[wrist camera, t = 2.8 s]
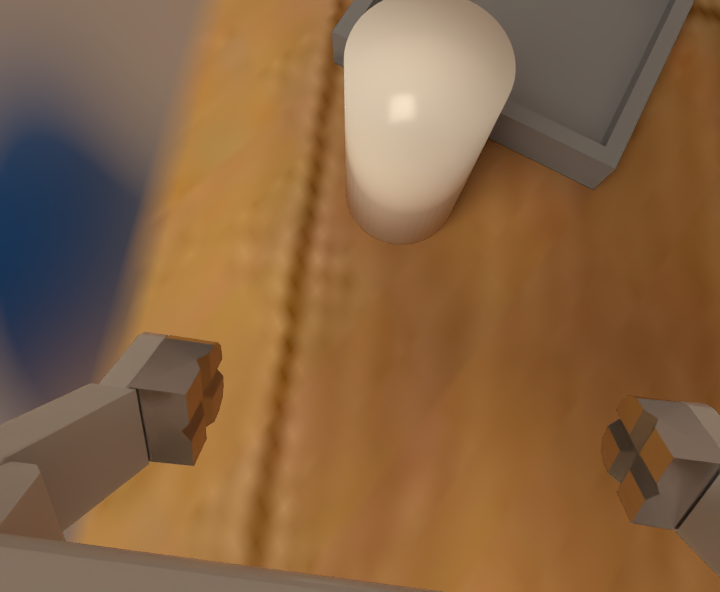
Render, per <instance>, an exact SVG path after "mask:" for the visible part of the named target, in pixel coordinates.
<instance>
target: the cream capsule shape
mask: <svg viewBox="0 0 720 592" xmlns="http://www.w3.org/2000/svg"><path fill="white" fill-rule="evenodd" d="M515 72H516V64H515V56H514V51H513V48H512V45H511V42H510V40H509V38H508V36H507V34H506V33H505V31H504V30H503V28H502V27H501V25H500V24H499V23H498V22H497V21H496V20H495V19H494V17H492V16H491V15H490V14H489V13H488V12H487V11H486V10H484V9H483V8H481V7H480V6H478V5H477V4H475V3H473V2H471V1H469V0H383V1H381V2H379V3H377V4H376V5H374V6H373V7H372V8H370V9H369V10H368V11H367V12H365V13H364V14H363V15H362V16H361V17H360V19H359V20H358V21H357V22H356V24H355V25H354V27H353V29H352V30H351V32H350V34H349V37H348V39H347V42H346V46H345V51H344V98H345V153H346V197H347V204H348V208H349V210H350V213H351V215H352V217H353V219H354V220H355V221H356V223H357V224H358V225H359V226H360V227H361V228H362V230H364V231H365V232H366V233H367V234H369V235H370V236H372V237H374V238H376V239H378V240H380V241H383V242H386V243H391V244H401V245H402V244H412V243H417V242H420V241H423V240H425V239H427V238H429V237H430V236H432V235H433V234H435V233H436V232H437V231H438V230H439V229H440V228H441V227H442V226H443V225H444V224H445V222H446V221H447V219H448V217H449V215H450V213H451V211H452V209H453V207H454V205H455V203H456V201H457V199H458V197H459V195H460V193H461V191H462V189H463V187H464V185H465V183H466V181H467V179H468V177H469V175H470V173H471V171H472V169H473V167H474V165H475V163H476V161H477V159H478V157H479V155H480V153H481V151H482V149H483V147H484V145H485V143H486V141H487V139H488V137H489V135H490V133H491V131H492V129H493V127H494V125H495V123H496V121H497V119H498V117H499V115H500V113H501V111H502V109H503V107H504V105H505V103H506V101H507V99H508V97H509V94H510V92H511V90H512V87H513V84H514V80H515Z"/></svg>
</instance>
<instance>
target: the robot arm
mask: <svg viewBox="0 0 720 592" xmlns="http://www.w3.org/2000/svg"><path fill="white" fill-rule="evenodd" d="M221 360H222V351H221V345H220V344H219V343H218V342H212V341H205V340H198V339H192V338H185V337H179V336H172V335H170V336H168V335H163V334H156V333H149V332H144V333H142V334H140V335H138V337H137V338H136V339H135V340H134V341H133V343H132V344H131V345H130V346H129V347H128V349H127V350H126V351H125V352H124V354H123V355H122V356H121V357H120V358H119V360H118V361H117V362H116V363H115V365H114V366H113V367H112V368H111V369H110V371H109V372H108V373H107V374H106V375H105V377H104V378H103V379H102V380H101V382H100V383H99V384H91V383H90V384H88V385H86V386H84V387H82V388H79V389H77V390H75V391H73V392H71V393H68V394H66V395H64V396H62V397H60V398H58V399H55V400H53V401H51V402H49V403H47V404H45V405H42V406H40V407H38V408H36V409H34V410H32V411H29V412H27V413H25V414H23V415H21V416H19V417H16V418H14V419H12V420H10V421H8V422H5V423H3V424H1V425H0V592H442V591H434V590H427V589H419V588H412V587H404V586H397V585H389V584H382V583H374V582H367V581H359V580H352V579H344V578H337V577H329V576H322V575H314V574H307V573H299V572H291V571H284V570H276V569H269V568H261V567H254V566H246V565H239V564H231V563H224V562H216V561H208V560H201V559H193V558H186V557H178V556H171V555H163V554H156V553H148V552H141V551H133V550H125V549H118V548H110V547H103V546H95V545H88V544H80V543H73V542H66V540H65V538H64V535H63V531H64V530H65V529H67V528H68V527H69V526H70V525H72V524H73V523H74V522H76V521H77V520H78V519H79V518H81V517H82V516H83V515H85V514H86V513H87V512H88V511H90V510H91V509H92V508H94V507H95V506H96V505H97V504H99V503H100V502H101V501H102V500H104V499H105V498H106V497H108V496H109V495H110V494H111V493H113V492H114V491H115V490H117V489H118V488H119V487H120V486H122V485H123V484H124V483H126V482H127V481H128V480H129V479H131V478H132V477H133V476H134V475H136V474H137V473H138V472H140V471H141V470H142V469H143V468H145V467H146V466H147V465H149V461H151V462H160V463H170V464H180V465H190V466H194V465H195V463H196V461H197V458H198V456H199V454H200V452H201V450H202V448H203V445H204V443H205V441H206V439H207V438H206V427H207V426H208V425H210V424H211V423H213V422H214V421H215V419H216V417H217V414H218V412H219V409H220V405H221V401H222V397H223V387H224V383H223V375H222V374H221V373H220V372H219V371H218V369H217V368H218V366H219V364H220V362H221ZM616 411H617V413H618V416H619V418H620V419H618V420H616V421H615V422H613V423H611V424H610V425H608V426H607V428H606V430H605V433H604V435H603V437H602V445H601V454H602V459H603V463H604V465H605V467H606V470H607V472H608V473H609V474H610V475H611V476H612V477H613V478H614V479H616V480H617V481H618V482H619V483H620V485H619V487H618V490H617V494H618V496H619V499H620V501H621V503H622V505H623V507H624V509H625V512H626V514H627V516H628V518H629V520H630V522H631V523H633V524H640V525H646V526H652V527H659V528H665V529H671V530H677V531H676V533H677V534H678V535H679V536H680V537H681V538H682V539H683V540H684V541H685V542H686V543H687V544H688V545H689V546H690V547H691V548H692V549H693V550H694V551H695V553H696V554H697V555H698V556H699V557H700V558H701V559H702V560H703V561H704V562H705V563H706V564H707V565H708V566H709V567H710V568H711V569H712V570H713V571H714V572H715V573H716V574H717V575H718V576H719V577H720V415H719V414H718V413H717V412H716V410H715V409H714V408H712V407H710V406H709V405H707V404H704V403H694V402H685V401H678V402H677V401H670V400H662V399H654V398H646V397H637V396H629V395H627V396H626V397H625V398H624V399H622V400H621V402H620V403H619V405H618V407H617V409H616Z"/></svg>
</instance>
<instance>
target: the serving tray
mask: <svg viewBox="0 0 720 592" xmlns="http://www.w3.org/2000/svg"><path fill="white" fill-rule="evenodd" d="M381 1H383V0H354V1H353V2H352V4H351V5H350V6H349V8H348V9H347V11H346V12H345V14H344V15H343V17H342V18H341V20H340V21H339V22H338V24H337V25H336V27H335V28H334V30H333V31H332V38H333V59H334V62H335V63H337V64H339V65H341V66H343V67H344V51H345V46H346V42H347V39H348V37H349V34H350V32H351V30H352V29H353V27H354V25H355V24H356V22H357V21H358V20H359V19H360V17H361V16H362V15H363V14H364V13H365V12H367V11H368V10H369V9H370V8H372V7H373V6H374V5H376V4H377V3H379V2H381ZM469 1H471V2H473V3H475V4H477V5H478V6H480V7H481V8H483V9H484V10H486V11H487V12H488V13H489V14H490V15H491V16H492V17H494V19H495V20H496V21H497V22H498V23H499V24H500V25H501V27H502V28H503V30H504V31H505V33H506V34H507V36H508V38H509V40H510V42H511V45H512V48H513V51H514V56H515V64H516V72H515V80H514V84H513V87H512V90H511V92H510V94H509V97H508V99H507V101H506V103H505V105H504V107H503V109H502V111H501V113H500V115H499V117H498V119H497V121H496V123H495V125H494V127H493V129H492V131H491V133H490V135H489V137H488V138H489V139H491V140H493V141H495V142H497V143H499V144H501V145H503V146H505V147H507V148H509V149H512V150H514V151H516V152H518V153H520V154H522V155H524V156H526V157H528V158H530V159H532V160H534V161H536V162H538V163H540V164H542V165H544V166H546V167H548V168H550V169H552V170H554V171H556V172H558V173H560V174H562V175H564V176H566V177H568V178H570V179H573V180H575V181H577V182H579V183H581V184H583V185H585V186H587V187H589V188H591V189H594V188H595V187H596V186H597V185H599V184H600V183H601V182H602V181H603V180H604V179H605V178H606V177H607V176H608V175H609V174H610V173H612V172H613V171H614V170H615V169H616V167H617V165H618V162H619V160H620V158H621V156H622V154H623V152H624V150H625V148H626V145H627V143H628V141H629V139H630V137H631V135H632V133H633V130H634V128H635V126H636V124H637V122H638V120H639V118H640V115H641V113H642V111H643V109H644V107H645V105H646V103H647V100H648V98H649V96H650V94H651V92H652V90H653V88H654V86H655V83H656V81H657V79H658V77H659V75H660V73H661V71H662V68H663V66H664V64H665V62H666V60H667V58H668V56H669V53H670V51H671V49H672V47H673V45H674V43H675V41H676V38H677V36H678V34H679V32H680V30H681V28H682V26H683V24H684V21H685V19H686V17H687V15H688V13H689V11H690V9H691V6H692V4H693V2H694V0H469Z"/></svg>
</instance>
